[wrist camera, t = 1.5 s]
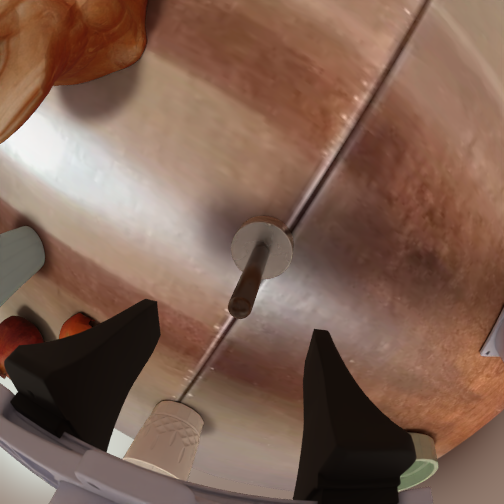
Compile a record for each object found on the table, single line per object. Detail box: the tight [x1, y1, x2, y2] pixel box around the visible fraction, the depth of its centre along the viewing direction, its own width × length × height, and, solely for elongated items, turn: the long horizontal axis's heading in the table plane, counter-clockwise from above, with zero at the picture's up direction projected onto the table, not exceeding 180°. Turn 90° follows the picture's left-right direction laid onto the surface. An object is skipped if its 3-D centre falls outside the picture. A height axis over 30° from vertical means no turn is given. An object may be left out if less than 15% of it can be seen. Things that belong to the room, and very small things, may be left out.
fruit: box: [0, 316, 44, 379], centre depth 30 cm, size 11×10×10 cm
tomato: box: [59, 313, 95, 339], centre depth 30 cm, size 8×7×7 cm
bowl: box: [397, 432, 438, 491], centre depth 29 cm, size 13×13×5 cm
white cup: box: [123, 401, 204, 481], centre depth 30 cm, size 8×8×10 cm
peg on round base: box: [228, 216, 294, 319], centre depth 18 cm, size 4×4×9 cm
